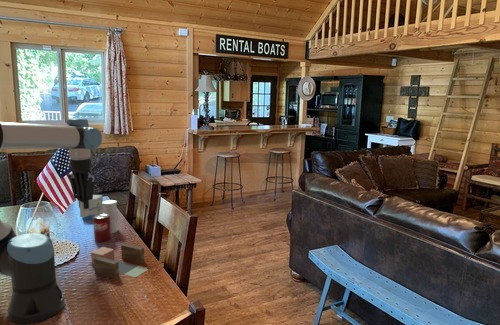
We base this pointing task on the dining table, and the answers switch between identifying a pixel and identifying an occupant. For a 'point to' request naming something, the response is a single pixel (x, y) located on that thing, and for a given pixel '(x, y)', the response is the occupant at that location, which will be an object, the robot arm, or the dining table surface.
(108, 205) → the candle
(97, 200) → the ink box
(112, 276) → the tunnel walls
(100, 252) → the terracotta block
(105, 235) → the soda can
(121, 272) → the mat
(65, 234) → the dining table surface
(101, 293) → the dining table surface
